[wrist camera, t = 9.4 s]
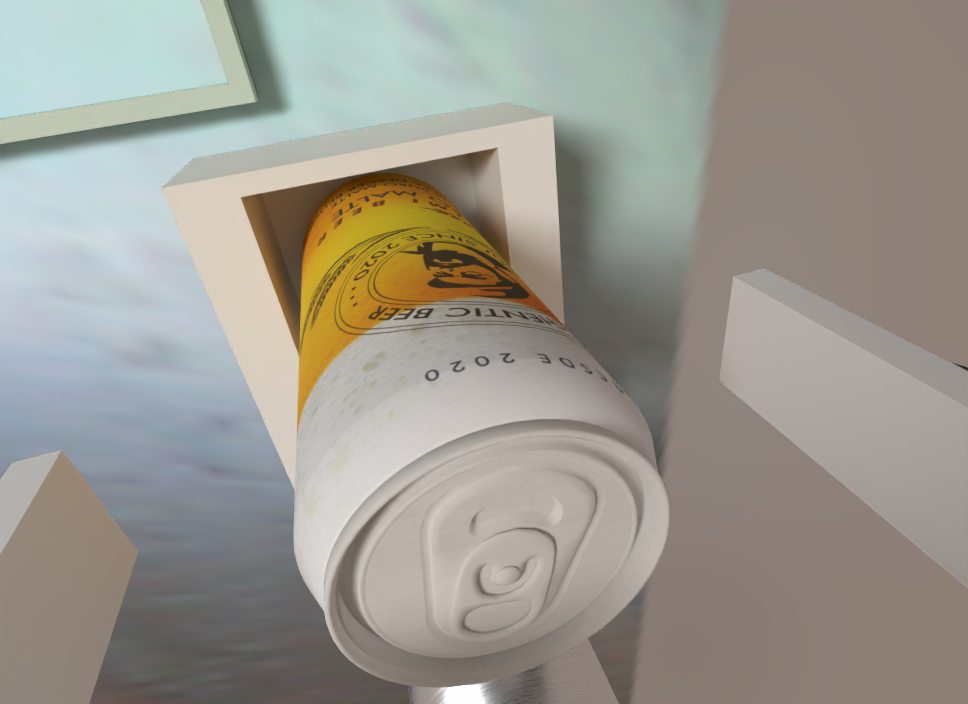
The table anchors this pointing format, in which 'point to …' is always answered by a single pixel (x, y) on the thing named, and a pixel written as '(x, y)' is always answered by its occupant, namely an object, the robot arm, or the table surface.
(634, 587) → the beer can
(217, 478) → the table surface
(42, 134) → the empty picture frame
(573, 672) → the shiny metal cylinder
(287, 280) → the dock
